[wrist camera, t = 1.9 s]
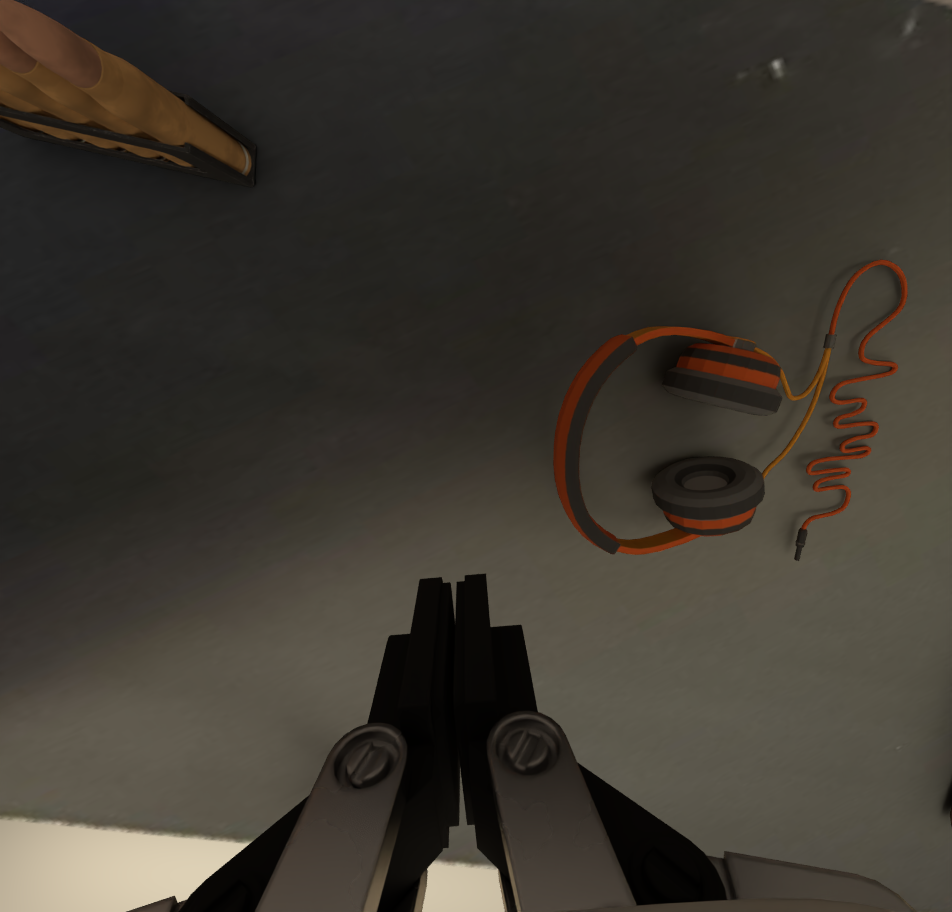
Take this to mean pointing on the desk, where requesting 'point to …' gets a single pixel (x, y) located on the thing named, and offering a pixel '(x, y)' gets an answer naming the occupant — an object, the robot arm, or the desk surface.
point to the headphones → (708, 478)
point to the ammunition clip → (107, 103)
